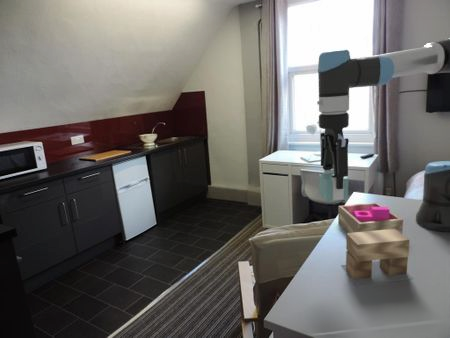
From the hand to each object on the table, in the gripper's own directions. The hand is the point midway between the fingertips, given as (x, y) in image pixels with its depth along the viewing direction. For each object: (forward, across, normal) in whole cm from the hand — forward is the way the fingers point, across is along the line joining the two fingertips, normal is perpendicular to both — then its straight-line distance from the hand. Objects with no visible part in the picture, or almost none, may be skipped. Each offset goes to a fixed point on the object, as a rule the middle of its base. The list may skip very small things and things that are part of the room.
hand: (333, 195), depth 91 cm
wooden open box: (+23, -21, +21) cm, 37 cm away
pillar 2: (+22, +5, +15) cm, 27 cm away
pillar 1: (+22, +5, +5) cm, 23 cm away
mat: (+23, +5, +10) cm, 25 cm away
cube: (0, 0, 0) cm, 0 cm away
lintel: (+16, +5, +10) cm, 20 cm away
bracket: (+23, -21, +21) cm, 37 cm away
